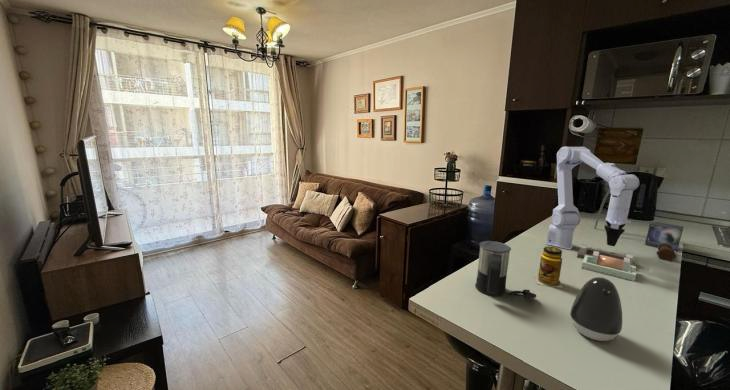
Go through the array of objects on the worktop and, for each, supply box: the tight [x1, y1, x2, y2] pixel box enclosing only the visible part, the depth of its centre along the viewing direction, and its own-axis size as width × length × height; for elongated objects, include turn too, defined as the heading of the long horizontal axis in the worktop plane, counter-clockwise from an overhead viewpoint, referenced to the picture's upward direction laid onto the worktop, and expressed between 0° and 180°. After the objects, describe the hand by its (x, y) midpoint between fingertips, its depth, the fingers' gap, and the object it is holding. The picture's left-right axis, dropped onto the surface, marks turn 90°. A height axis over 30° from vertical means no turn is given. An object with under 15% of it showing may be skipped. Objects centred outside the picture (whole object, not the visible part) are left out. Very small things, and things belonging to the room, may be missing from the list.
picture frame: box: [644, 220, 684, 253], centre depth 133 cm, size 11×6×10 cm, turn 41°
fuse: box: [591, 251, 630, 272], centre depth 109 cm, size 10×5×5 cm, turn 49°
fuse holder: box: [576, 243, 634, 266], centre depth 119 cm, size 17×11×4 cm, turn 49°
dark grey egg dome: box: [569, 276, 623, 342], centre depth 73 cm, size 10×10×15 cm
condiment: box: [533, 245, 564, 289], centre depth 100 cm, size 7×8×12 cm
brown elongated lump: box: [656, 243, 678, 262], centre depth 124 cm, size 6×5×15 cm
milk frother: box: [474, 240, 537, 300], centre depth 92 cm, size 14×16×15 cm
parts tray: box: [581, 255, 637, 282], centre depth 110 cm, size 15×9×2 cm, turn 49°
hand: (611, 242), depth 111 cm, fingers open, 7 cm apart
